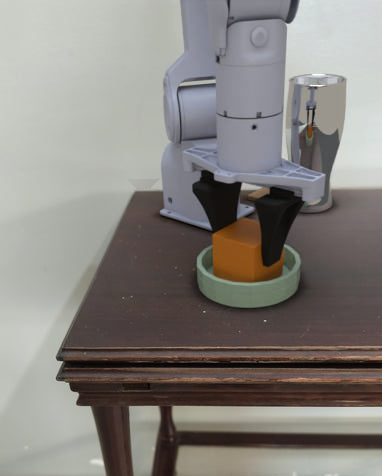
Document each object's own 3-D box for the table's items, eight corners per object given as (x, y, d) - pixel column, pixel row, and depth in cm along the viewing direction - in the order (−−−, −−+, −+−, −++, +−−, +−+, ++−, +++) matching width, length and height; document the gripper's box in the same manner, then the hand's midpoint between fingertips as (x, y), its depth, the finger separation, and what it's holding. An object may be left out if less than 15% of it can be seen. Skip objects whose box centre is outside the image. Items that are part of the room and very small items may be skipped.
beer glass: (330, 193, 77) (342, 71, 68) (340, 213, 71) (354, 84, 63) (278, 195, 77) (283, 74, 69) (284, 215, 71) (290, 87, 63)
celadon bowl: (176, 286, 58) (175, 264, 57) (239, 250, 64) (239, 229, 63) (258, 320, 52) (259, 296, 51) (318, 276, 58) (320, 254, 57)
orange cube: (213, 279, 58) (212, 234, 55) (243, 261, 61) (243, 217, 58) (253, 294, 55) (254, 247, 52) (282, 274, 58) (285, 229, 55)
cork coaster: (246, 199, 76) (247, 195, 76) (264, 190, 79) (264, 186, 78) (271, 206, 74) (271, 201, 74) (288, 196, 77) (289, 192, 76)
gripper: (156, 110, 50) (167, 250, 58) (296, 134, 42) (287, 293, 50) (207, 94, 55) (211, 226, 62) (344, 113, 46) (328, 263, 54)
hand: (248, 254), depth 57 cm, fingers closed on orange cube, 5 cm apart
